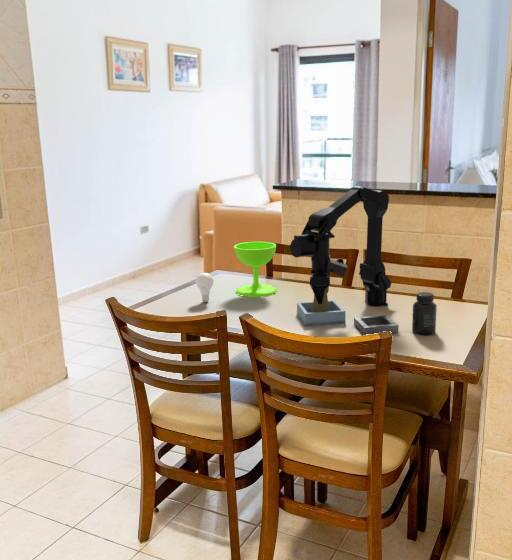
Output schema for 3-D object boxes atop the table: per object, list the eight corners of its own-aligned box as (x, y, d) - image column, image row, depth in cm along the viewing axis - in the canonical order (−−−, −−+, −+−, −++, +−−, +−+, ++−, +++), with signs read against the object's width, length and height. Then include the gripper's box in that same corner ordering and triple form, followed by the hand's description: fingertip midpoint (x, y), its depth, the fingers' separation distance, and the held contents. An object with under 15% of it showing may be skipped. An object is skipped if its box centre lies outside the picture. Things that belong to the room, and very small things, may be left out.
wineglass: (277, 296, 227) (276, 249, 223) (234, 297, 228) (232, 250, 223) (276, 286, 243) (275, 241, 239) (236, 286, 243) (234, 242, 239)
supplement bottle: (409, 329, 188) (410, 291, 185) (430, 328, 189) (432, 290, 186) (416, 336, 181) (417, 297, 179) (438, 335, 182) (440, 296, 179)
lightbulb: (193, 303, 222) (192, 274, 219) (201, 299, 227) (200, 270, 225) (209, 305, 219) (208, 275, 217) (217, 300, 225) (216, 271, 222)
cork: (333, 317, 199) (333, 284, 196) (316, 319, 197) (316, 286, 194) (324, 312, 204) (325, 280, 202) (308, 314, 202) (308, 282, 200)
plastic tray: (334, 311, 208) (334, 300, 207) (345, 323, 195) (345, 311, 194) (297, 314, 206) (296, 302, 205) (305, 326, 194) (305, 313, 193)
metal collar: (386, 322, 195) (386, 315, 194) (398, 333, 185) (398, 325, 184) (353, 324, 194) (354, 317, 193) (364, 335, 183) (364, 327, 183)
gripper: (346, 259, 185) (346, 308, 189) (345, 247, 203) (345, 292, 207) (309, 259, 187) (309, 308, 191) (311, 247, 205) (312, 292, 209)
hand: (320, 300), depth 199 cm, fingers open, 9 cm apart
